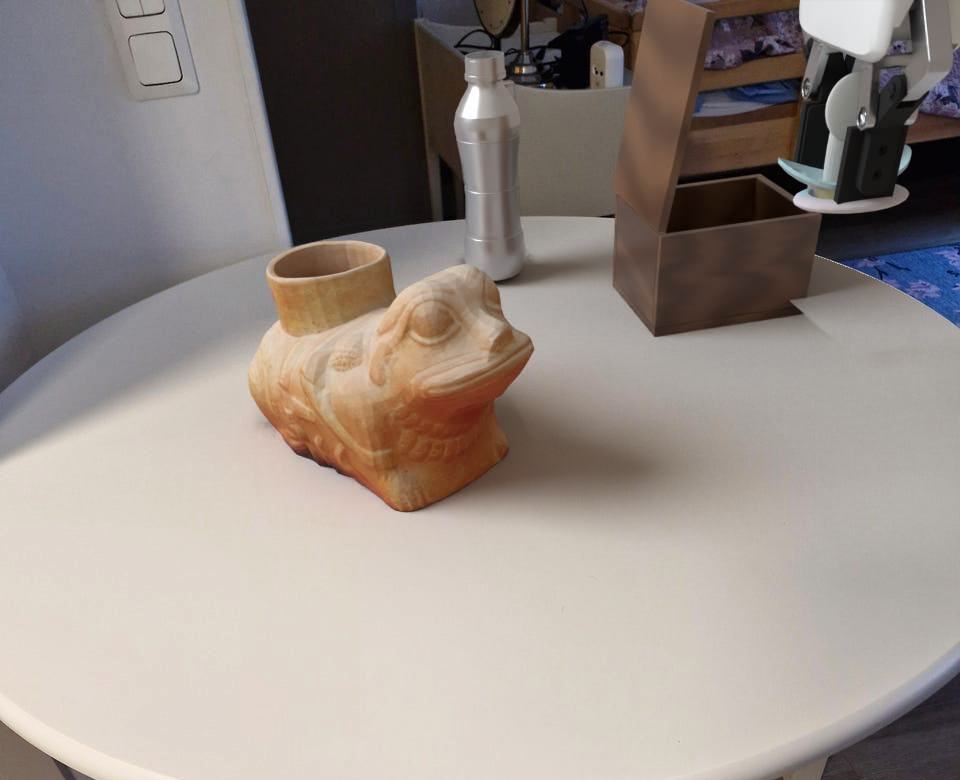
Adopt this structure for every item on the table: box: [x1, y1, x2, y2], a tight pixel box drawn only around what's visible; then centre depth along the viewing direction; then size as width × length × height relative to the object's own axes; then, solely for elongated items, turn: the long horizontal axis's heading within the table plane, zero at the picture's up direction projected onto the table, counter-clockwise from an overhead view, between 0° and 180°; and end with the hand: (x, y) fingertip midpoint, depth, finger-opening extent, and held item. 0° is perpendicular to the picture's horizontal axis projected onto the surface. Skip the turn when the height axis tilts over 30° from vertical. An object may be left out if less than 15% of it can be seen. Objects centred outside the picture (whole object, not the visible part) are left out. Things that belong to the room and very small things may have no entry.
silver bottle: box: [453, 50, 527, 282], centre depth 88 cm, size 6×7×20 cm
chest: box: [612, 173, 823, 338], centre depth 84 cm, size 15×13×9 cm
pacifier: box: [777, 72, 912, 215], centre depth 50 cm, size 7×6×6 cm
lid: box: [611, 0, 717, 232], centre depth 75 cm, size 15×13×1 cm
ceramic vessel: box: [247, 239, 535, 512], centre depth 66 cm, size 14×26×15 cm, turn 46°
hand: (839, 185), depth 52 cm, fingers closed on pacifier, 4 cm apart
